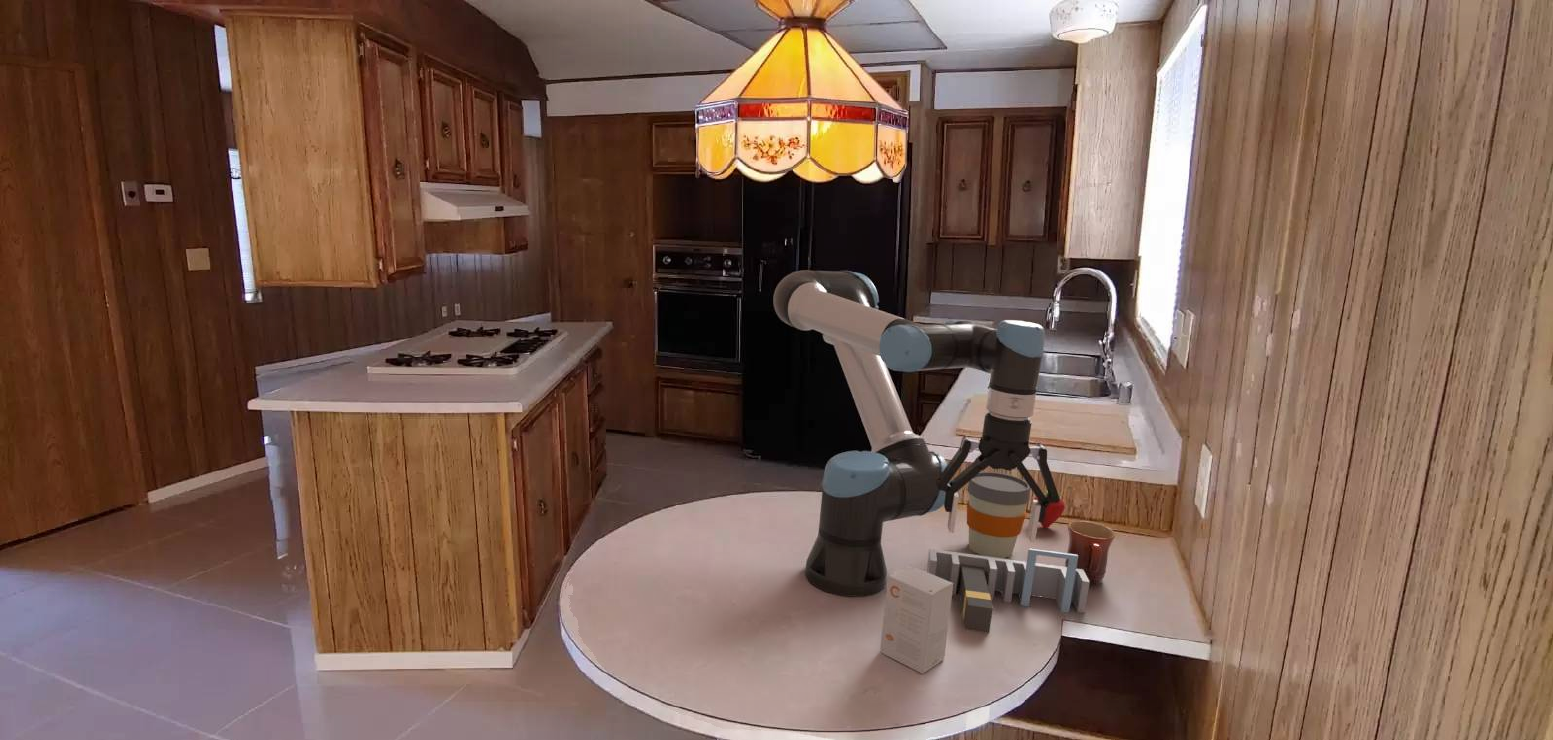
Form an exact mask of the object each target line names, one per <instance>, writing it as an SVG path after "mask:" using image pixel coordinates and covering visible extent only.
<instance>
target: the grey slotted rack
mask: <svg viewBox="0 0 1553 740" xmlns="http://www.w3.org/2000/svg"><path fill="white" fill-rule="evenodd" d="M1026 563H1027V561H1022V560H1015V559H1008V558H994V557H987V556H982V555H979V554H971V553H965V552H956V551H949V550H942V549H933V548H929V550H928V557H927V565H926V572H928V573H930V574H932V575H935V576H937V577H940V578H942V579H944V580H947V581H949V582H952V583H953V591H952V595H954V596H956V595H957V593H956V592H957V589H958V588H957V587H958V584H959V577H960V569H961V565H969V566H976V567H983V569H984V573H985V578H986V582H987V586H988V590H989V594H990V597H991V601H994V595H995V592H1001V596H1002V595H1003V596H1002V599H1004V600H1003V602H1004V601H1005V603H1010V602H1011V603H1012V597H1013V596H1012V595H1013V594H1015V593H1016V594H1017V595H1018V596H1019V595H1020V597H1019V600H1020V599H1021V596H1022V590H1023V583H1024V576H1025V570H1026ZM1066 571H1067V567H1065V566H1061V565H1060V566H1059V565H1053V564H1044V563H1039V562H1036V563H1035V570H1034V576H1033V583H1032V589H1031V595H1035V596H1034V597H1037V596H1042V597H1041V598H1044V597H1047V598H1046V599H1051V598H1054V599H1053V600H1056V602H1057V605H1058V608H1059V609H1060V608H1061V602H1062V596H1063V590H1064V584H1065V578H1066ZM1089 584H1090V582H1089V580H1088V578H1087V576H1086V574H1085V572H1084V570H1083V569H1076V573H1075V579H1074V585H1073V591H1072V597H1071V602H1072V603H1073V605H1074V607H1075V609H1076V611H1077V613H1081V614H1085V611H1086V607H1087V601H1088V595H1089V588H1090V585H1089Z"/></svg>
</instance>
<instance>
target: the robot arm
mask: <svg viewBox="0 0 1553 740" xmlns="http://www.w3.org/2000/svg"><path fill="white" fill-rule="evenodd" d="M772 299H773V300H772V301H773V307H774V311H775V313H776V315H777V316H778V318H779V319H780V321H782V322H784V323H785V324H787V325H789V326H790V327H793V328H795V329H798V330H799V331H811V330H814V331H816V332H819V333H821V336H822V339H823V341H824V342H825V343H827V344H830V345H833V347H834V350H835V353H836V355H837V358H838V360H839V363H840V365H841V368H842V371H843V373H844V377H845V379H846V381H847V385H848V388H849V389H850V392H851V395H852V398H853V400H854V403H855V406H856V409H857V411H858V414H859V416H860V419H861V422H862V425H863V427H864V430H865V432H866V433H865V434H866V435H867V438H868V440H869V443H870V446H871V450H862V451H859V450H848V451H845V452H841V453H838V454H835V455H834V456H833V457H831V458H830V459H828V460H827V463H826V465H825V467H824V473H823V478H822V481H821V486H822V489H821V490H822V491H821V502H820V503H821V504H820V505H821V506H820V515H819V522H818V534H817V537H816V539H815V540H814V544H813V545H812V548H811V550H810V552H809V554H808V556H807V559H806V562H805V572H804V573H805V577H806V579H807V581H808V582H809V583H811V584H812V585H813V586H815V587H816V588H818V589H820V590H822V591H824V592H827V593H830V594H834V595H839V596H846V597H864V596H870V595H873V594H877V593H878V592H881V591H882V590H884V589H885V587H886V586H887V585H886V583H887V579H888V577H887V575H888V568H887V565H886V561H885V555H884V550H883V547H882V535H883V527H884V522H885V523H886V522H889V521H895V520H900V519H905V518H909V517H915V516H916V517H917V516H919V517H920V516H924V515H926V514H928V513H932V512H935V511H937V510H939V509H941V508H942V507H944V511H945V512H947V513H948V519H947V529H948V532H949V533H951V534H954V533H955V526H956V520H957V512H958V506H959V498H960V497H959V493H958V492H959V491H960V490H961V489H962V488H963V487H964V486H965V485H967V484H969V481H970V480H971V479H972V478H974V477H975V476H976V475H977V474H978V473H979V472H983V471H984V470H986V469H987V468H988V467H990V468H992V469H993V470H1001V469H1003V470H1005V471H1009V472H1011V471H1012V470H1015V469H1017V470H1018V472H1019V473H1020V475H1021V476H1022V478H1023V480H1024V481H1026V482H1027V483H1028V485H1029V486H1030V490H1031V491H1032V493H1033V494H1034V495H1035V497H1037V498H1038V501H1037V500H1033V499H1032V502H1031V508H1030V514H1029V520H1028V527H1027V534H1026V536H1027V538H1028V540H1029V541H1030V542H1032V543H1036V538H1037V531H1038V526H1039V523H1040V522H1042V523H1043V522H1044V520H1045V514H1046V508H1047V507H1048V506H1049V504H1050V503H1058V502H1059V501H1060V498H1061V497H1060V496H1059V495H1060V494H1059V493H1058V489H1057V486H1056V484H1055V481H1054V478H1053V476H1052V473H1051V470H1050V467H1049V464H1048V449H1046V447H1045V446H1044V445H1043V444H1041V443H1039V444H1037V446H1035V445H1034V446H1030V445H1029V441H1030V436H1031V435H1030V434H1031V431H1032V430H1031V429H1032V424H1033V423H1032V422H1033V421H1032V419H1031V417H1032V416H1033V415H1034V409H1035V403H1036V397H1037V396H1036V395H1037V388H1038V381H1039V377H1040V376H1039V375H1040V372H1041V367H1042V361H1043V357H1044V354H1045V349H1044V347H1045V334H1046V332H1045V329H1044V327H1043V326H1042V325H1040V324H1039V323H1035V322H1031V321H1024V320H1015V319H1004V320H1001V321H1000V322H999V323H998V325H997V328H993V327H989V326H986V325H982V324H978V323H974V322H972V321H968V320H957V319H951V320H948V321H947V322H946V323H944V324H937V323H936V324H923V323H917V322H915V321H912V320H908V319H906V318H903V317H900V316H899V315H898V316H897V315H895V314H892V313H890V312H889V313H888V312H887V311H883V310H879V306H878V303H879V302H880V300H879V294H878V290H877V288H876V286H875V285H874V283H873V282H872V280H871V279H870V278H869V277H868V276H867V275H865V274H863V273H860V272H855V271H854V272H853V271H850V270H840V271H839V270H838V271H831V270H830V271H829V270H827V271H825V270H807V269H806V270H797V271H793V272H791V273H789V274H788V275H786V276H784V277H783V278H782V279H781V280H780V281H779V282H778V284H777V286H776V288H775V289H774V293H773V298H772ZM961 368H968V369H973V370H977V371H981V372H985V373H987V374H990V379H989V385H988V386H989V388H988V395H987V400H986V406H985V407H986V410H987V412H986V413H985V414H984V421H983V428H982V433H981V437H980V439H979V440H976V439H975V440H974V439H972V438H969V436H963V437H961V442H960V445H959V448H958V450H957V451H956V453H955V454H954V456H953V457H952V458H951V460H950V461H949V462H947V460H946V459H945V457H943V455H940V454H939V453H938V452H936V451H934V450H933V451H931V450H929V448H928V445H927V444H926V441H925V438H924V437H923V436H921V435H919V434H915V433H914V431H913V429H912V427H911V424H910V422H909V419H908V416H907V414H906V412H905V409H904V407H903V404H902V402H901V399H900V397H899V394H898V392H897V390H896V386H895V384H894V382H893V381H894V380H892V379H893V378H892V376H891V374H890V371H889V369H890V370H892V371H897V372H906V373H913V372H917V371H918V372H920V371H932V370H948V369H961ZM976 449H978V451H979V452H980V454H979V455H978V456H977V457H976V458H975V459H974V461H973V462H972V463H970V464H969V465H968V466H967V467H966V468H965V469H964V470H962V471H961V472H959V474H958V475H956V473H957V472H958V471H959V469H960V468H961V467H962V464H964V462H965V461H966V459H967V458H968V456H969V454H970V453H973V452H974V451H975V450H976ZM1029 455H1032V458H1033V459H1034V460H1036V461H1037V465H1038V468H1039V471H1040V473H1041V477H1042V479H1043V482H1044V484H1045V485H1044V486H1045V487H1046V491H1048V494H1043V493H1044V492H1043V491H1042V490H1041V488H1040V487H1039V485H1038V483H1037V481H1036V480H1035V479H1034V478H1033V477H1032V474H1031V473H1030V472H1029V470H1028V469H1027V467H1026V466H1025V465H1024V463H1023V462H1024V461H1025V459H1027V457H1029ZM955 475H956V476H955ZM954 476H955V477H954Z"/></svg>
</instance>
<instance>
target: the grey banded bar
mask: <svg viewBox="0 0 1553 740" xmlns="http://www.w3.org/2000/svg"><path fill="white" fill-rule="evenodd" d="M957 587H958V588H957V589H958V593H959V594H958V595H959V599H960V600H959V601H960V607H961V615H962V621H963V624H964V630H965V631H971V632H980V633H985V634H990V631H991V623H992V617H993V611H994V609H993V608H994V607H993V604H992V600H991V597H990V594H989V590H988V586H987V582H986V578H985V573H984V569H983V567H976V566H969V565H961V569H960V577H959V584H958V585H957Z"/></svg>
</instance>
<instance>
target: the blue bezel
mask: <svg viewBox="0 0 1553 740" xmlns="http://www.w3.org/2000/svg"><path fill="white" fill-rule="evenodd" d="M1038 556H1042V557H1051V558H1058V559H1065V560H1066V559H1068V565H1067V571H1066V578H1065V584H1064V590H1063V596H1062V602H1061V608H1059V610H1060V612H1065V613H1070V607H1071V602H1072V601H1071V597H1072V591H1073V585H1074V579H1075V573H1076V567H1077V561H1078V555H1076V554H1068V553H1067V552H1060V551H1054V550H1053V551H1052V550H1051V551H1050V550H1044V549H1036V548H1030V547H1029V548H1028V551H1027V558H1026V562H1027V563H1026V570H1025V576H1024V583H1023V590H1022V596H1021V600H1020V603H1019V604H1020V606H1021V605H1025V606H1024V607H1028V606H1030V600H1031V597H1032V596H1031V589H1032V583H1033V576H1034V570H1035V563H1037V562H1036V561H1037V557H1038Z"/></svg>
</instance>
